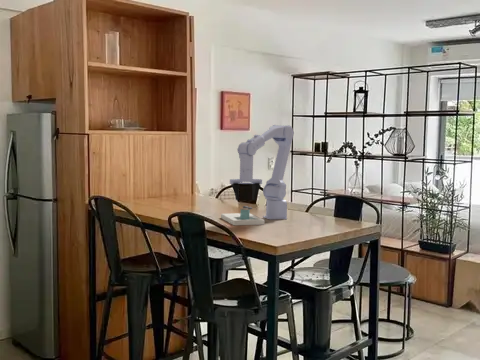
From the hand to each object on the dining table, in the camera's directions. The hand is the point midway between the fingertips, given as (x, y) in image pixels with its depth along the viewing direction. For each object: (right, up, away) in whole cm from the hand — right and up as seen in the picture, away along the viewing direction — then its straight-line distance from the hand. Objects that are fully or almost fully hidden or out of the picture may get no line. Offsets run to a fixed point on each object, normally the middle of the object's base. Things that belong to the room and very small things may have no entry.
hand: (245, 200), depth 241 cm
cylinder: (0, -10, 0) cm, 10 cm away
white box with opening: (-2, -10, +3) cm, 10 cm away
